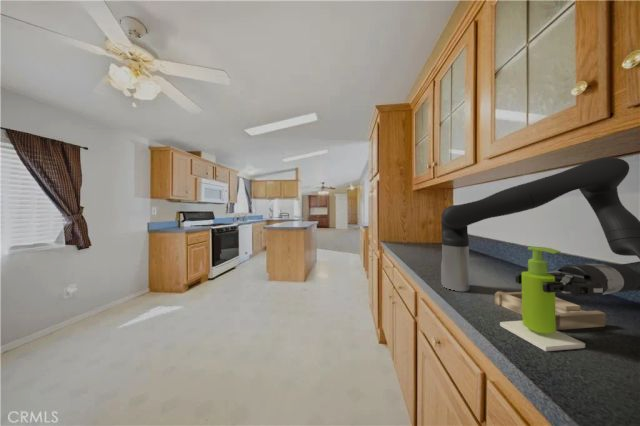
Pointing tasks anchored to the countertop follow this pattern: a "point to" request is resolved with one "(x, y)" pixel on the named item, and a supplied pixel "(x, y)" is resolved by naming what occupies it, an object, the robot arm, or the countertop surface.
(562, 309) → the offcut stack
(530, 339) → the cream tile
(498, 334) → the countertop surface
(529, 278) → the soap dispenser
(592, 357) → the countertop surface
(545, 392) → the countertop surface
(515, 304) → the pine rack
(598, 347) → the countertop surface
